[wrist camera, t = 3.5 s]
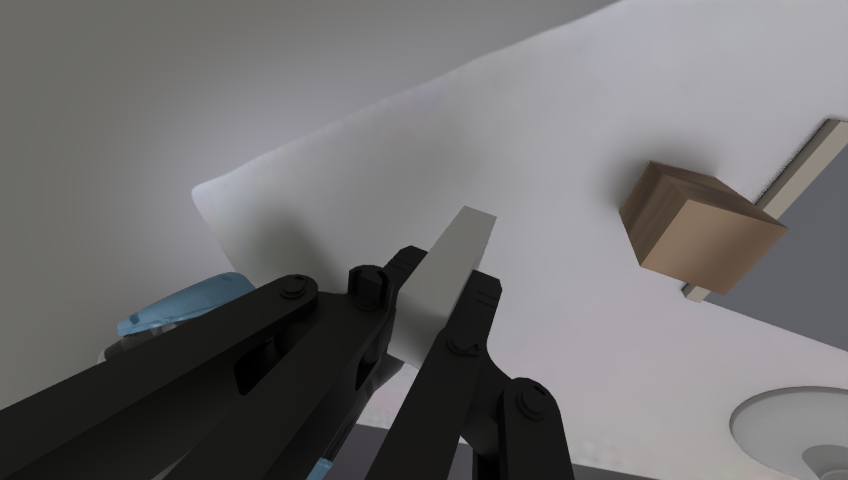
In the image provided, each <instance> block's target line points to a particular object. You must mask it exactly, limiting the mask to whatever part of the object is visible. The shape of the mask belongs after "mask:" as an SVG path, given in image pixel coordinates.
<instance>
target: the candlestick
mask: <svg viewBox="0 0 848 480" xmlns="http://www.w3.org/2000/svg"><path fill="white" fill-rule="evenodd" d="M730 429H731V432H732V435H733V437H734V439H735V441H736V443H737V444H738V445H739V447H740V448H741V449H742V450H743V451H744V452H745V453H746V454H747V455H749V456H750V457H751V458H753V459H754V460H756V461H758V462H759V463H761V464H763V465H765V466H767V467H769V468H771V469H774V470H776V471H779V472H781V473H784V474H787V475H789V476H793V477H796V478H800V479H804V480H848V390H844V389H837V388H828V387H793V388H784V389H778V390H773V391H769V392H766V393H763V394H760V395H757V396H755V397H753V398H751V399H749V400H747V401H745V402H744V403H742V404H741V405H740V406H739V407H738V408H737V409H736V410H735V411H734V413H733V414H732V417H731V420H730Z"/></svg>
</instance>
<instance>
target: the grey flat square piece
mask: <svg viewBox="0 0 848 480" xmlns="http://www.w3.org/2000/svg"><path fill="white" fill-rule="evenodd" d="M755 205H756V206H757V207H759V208H760V209H761V210H763V211H764V212H766V213H767V214H769V215H770V216H771V217H773V218H774V219H776V220H777V221H779V222H780V223H782V224H783V225H784V226H786V227H787V228H789V229H788V230H787V231H786V232H785V233H784V234H783V235H782V236H781V238H780V239H779V240H778V241H777V242H776V243H775V244H774V245H773V246H772V247H771V248H770V249H769V250H768V251H767V252H766V253H765V254H764V255H763V256H762V257H761V258H760V259H759V260H758V261H757V262H756V263H755V264H754V265H753V266H752V268H751V269H750V270H749V271H748V272H747V273H746V274H745V275H744V276H743V277H742V278H741V279H740V280H739V281H738V282H737V283H736V284H735V285H734V286H733V287H732V288H731V289H730V290H729V291H728V292H727V293H726V294H725V295H721V294H718V293H715V292H713V291H710V290H707V289H704V288H701V287H698V286H695V285H692V284H689V283H688V284H687V285H686V286H685V287H684V288H683V289H682V292H683V294H684V296H685V298H687V299H690V300H692V301H695V302H698V303H700V302H701V301H702V300H704V301H707V302H709V303H712V304H715V305H718V306H721V307H724V308H726V309H729V310H732V311H735V312H738V313H740V314H743V315H746V316H749V317H752V318H755V319H757V320H760V321H763V322H766V323H769V324H771V325H774V326H777V327H780V328H783V329H786V330H788V331H791V332H794V333H797V334H800V335H802V336H805V337H808V338H811V339H814V340H817V341H819V342H822V343H825V344H828V345H831V346H833V347H836V348H839V349H842V350H845V351H848V123H847V122H842V121H837V120H831V119H828V120H827V121H826V122H825V123H824V125H823V126H822V127H821V128H820V129H819V130H818V132H817V133H816V134H815V135H814V136H813V137H812V139H811V140H810V141H809V142H808V143H807V144H806V146H805V147H804V148H803V149H802V150H801V151H800V153H799V154H798V155H797V156H796V157H795V158H794V160H793V161H792V162H791V163H790V164H789V166H788V167H787V168H786V169H785V170H784V171H783V173H782V174H781V175H780V176H779V177H778V178H777V180H776V181H775V182H774V183H773V184H772V185H771V187H770V188H769V189H768V190H767V191H766V192H765V194H764V195H763V196H762V197H761V198H760V199H759V201H758V202H757V203H756V204H755Z"/></svg>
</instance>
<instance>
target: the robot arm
mask: <svg viewBox="0 0 848 480" xmlns="http://www.w3.org/2000/svg"><path fill="white" fill-rule="evenodd" d="M496 218H497V217H496V216H493V215H490V214H487V213H484V212H481V211H479V210H476V209H473V208H470V207H467V206H464V207H463V208H462V210H461V211H460V212H459V213H458V215H457V216H456V217H455V219H454V220H453V221H452V223H451V224H450V225H449V226H448V228H447V229H446V230H445V232H444V233H443V234H442V235H441V237H440V238H439V239H438V241H437V242H436V243H435V244H434V246H433V247H432V248H431V250H430V251H429V252H427V251H424V250H422V249H419V248H417V247H414V246H412V245H410V246H408V247H405V248H403V249H401V250H399V252H398V253H397V254H396V255H395V256H394V257H393V258H392V259H391V260H390V261H389V262H388V264H386V265H385V266H384V267H383V268H382V267H378V266H375V265H361V266H357V267H355V268H353V269H351V270H350V271H349V280H348V293H347V294H333V293H327V292H322V291H318V285H317V283H316V282H315V281H314V280H313V279H312V278H310V277H308V276H305V275H299V274H296V275H287V276H284V277H281V278H278V279H276V280H274V281H272V282H270V283H268V284H266V285H264V286H262V287H259V288H257V289H256V288H255V287H254V286H253V285H252V283H251V282H250V281H249V280H248V279H247V278H246V277H245V276H243V275H242V274H239V273H235V272H228V273H223V274H220V275H217V276H214V277H212V278H209V279H206V280H204V281H202V282H199V283H197V284H194V285H192V286H190V287H188V288H185V289H183V290H181V291H179V292H176V293H174V294H172V295H170V296H168V297H166V298H163V299H161V300H159V301H158V302H155V303H153V304H151V305H149V306H147V307H145V308H143V309H142V310H140V311H139V312H136V313H135V314H133V315H131V316H129V317H126V318H125V319H123V320H122V321H120V322H119V323H118V324H117V328H118V335H119V336H123V337H124V338H123V339H121V340H120V341H118V342H116V343H115V344H113V345H111V346H110V347H108V348H107V349H105V350H104V351H102V352H101V353H100V356H99V359H98V363H97V365H95V366H93V367H91V368H89V369H87V370H85V371H82V372H81V373H79V374H76V375H74V376H72V377H70V378H68V379H66V380H63V381H62V382H59V383H57V384H55V385H53V386H51V387H49V388H47V389H45V390H42V391H40V392H38V393H36V394H34V395H32V396H30V397H28V398H26V399H23V400H21V401H19V402H17V403H15V404H13V405H11V406H9V407H7V408H5V409H2V410H0V480H151V479H152V478H154V477H155V476H156V475H158V474H159V473H160V472H162V471H163V470H164V469H166V468H167V467H169V466H170V465H171V464H173V463H174V462H175V461H177V460H178V459H179V458H181V457H182V456H183V455H185V454H186V453H187V452H188V451H190V450H191V449H192V450H191V451H190V452H189V453H188V454H187V455H186V456H185V457H184V458H183V459H182V460H181V461H180V463H178V464H177V465H176V466H175V467H174V468H173V469H172V470H171V471H170V472H169V473H168V474H167V476H165V477H164V478H163V479H162V480H321V479H322V478H323V476H324V475H325V474H326V472H327V471H328V469H330V468H331V466H332V464H333V463H332V462H333V460H334V459H335V457H336V455H337V453H338V452H339V450H340V449H341V447H342V445H343V443H344V442H345V440H346V438H347V437H348V435H349V433H350V432H351V430H352V428H353V427H354V425H355V423H356V421H357V420H358V418H359V416H360V415H361V413H362V411H363V410H364V408H365V406H366V404H367V403H368V401H369V399H370V398H371V396H372V395H373V393H374V392H375V391H376V390H377V389H378V388H380V387H381V386H382V385H383V384H384V383H386V382H387V381H388V380H389V379H390V378H391V377H393V376H394V375H395V374H396V373H397V372H398V371H399V370H400V369H401V368H402V366H403V365H404V363H405V362H406V363H408V364H410V365H412V366H414V367H416V368H418V369H420V370H419V372H418V374H417V376H416V378H415V380H414V382H413V384H412V386H411V388H410V390H409V392H408V394H407V396H406V398H405V400H404V402H403V404H402V406H401V408H400V410H399V412H398V414H397V416H396V418H395V420H394V422H393V424H392V426H391V428H390V430H389V432H388V434H387V436H386V438H385V440H384V442H383V444H382V446H381V448H380V450H379V452H378V454H377V456H376V458H375V460H374V462H373V464H372V466H371V468H370V470H369V472H368V474H367V476H366V477H365V480H447V478H448V474H449V471H450V468H451V465H452V461H453V458H454V455H455V451H456V448H457V444H458V441H459V438H460V435H461V437H462V438H463V439H464V440H465V441H466V442H467V443H468V444H469V445H470V446H471V447H472V448H473V466H472V468H473V469H472V480H575V479H574V474H573V469H572V465H571V460H570V455H569V451H568V446H567V442H566V437H565V432H564V428H563V423H562V418H561V414H560V410H559V408H558V405H557V402H556V400H555V399H554V397H553V396H552V395H551V393H550V392H549V391H548V390H547V389H546V388H545V387H543V386H542V385H541V384H540V383H538V382H536V381H534V380H531V379H529V378H521V377H518V378H515V379H511V378H510V377H508V376H507V375H506V374H505V373H504V372H502V371H501V370H500V369H499V368H498V367H497V366H496V365H495V364H494V362H493V361H492V360H491V358H490V356H489V354H488V351H487V339H488V335H489V332H490V329H491V326H492V322H493V319H494V316H495V312H496V309H497V306H498V303H499V299H500V296H501V293H502V287H501V284H500V280H499V279H497V278H494V277H492V276H489V275H487V274H484V273H482V272H479V271H477V270H478V267H479V265H480V262H481V260H482V257H483V254H484V251H485V248H486V246H487V243H488V240H489V237H490V235H491V232H492V229H493V226H494V223H495V221H496Z"/></svg>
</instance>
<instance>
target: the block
mask: <svg viewBox="0 0 848 480" xmlns="http://www.w3.org/2000/svg"><path fill="white" fill-rule="evenodd" d="M619 214H620V216H621V219H622V222H623V224H624V227H625V229H626V232H627V234H628V237H629V240H630V242H631V245H632V247H633V250H634V252H635V255H636V258H637V260H638V263H639V265H640V267H643V268H646V269H649V270H652V271H655V272H658V273H661V274H664V275H666V276H669V277H672V278H675V279H678V280H681V281H684V282H687V283H689V284H692V285H695V286H698V287H701V288H704V289H707V290H710V291H713V292H715V293H718V294H721V295H725V294H726V293H727V292H728V291H729V290H730V289H731V288H732V287H733V286H734V285H735V284H736V283H737V282H738V281H739V280H740V279H741V278H742V277H743V276H744V275H745V274H746V273H747V272H748V271H749V270H750V269H751V268H752V266H753V265H754V264H755V263H756V262H757V261H758V260H759V259H760V258H761V257H762V256H763V255H764V254H765V253H766V252H767V251H768V250H769V249H770V248H771V247H772V246H773V245H774V244H775V243H776V242H777V241H778V240H779V239H780V238H781V236H782V235H783V234H784V233H785V232H786V231H787V230H788V229H789V228H787V227H786V226H784V225H783V224H782V223H780V222H779V221H777V220H776V219H774V218H773V217H771V216H770V215H769V214H767V213H766V212H764V211H763V210H761V209H760V208H759V207H757V206H756V205H754V204H753V203H751V202H750V201H748V200H747V199H746V198H744V197H743V196H741V195H740V194H738V193H737V192H735V191H734V190H733V189H731V188H730V187H728V186H727V185H725V184H724V183H722V182H721V181H720V180H718V179H717V178H714V177H711V176H707V175H703V174H700V173H696V172H692V171H689V170H685V169H681V168H678V167H674V166H670V165H667V164H663V163H659V162H656V161H652V160H649V161H648V163H647V165H646V166H645V168H644V170H643V171H642V173H641V175H640V176H639V178H638V180H637V182H636V183H635V185H634V187H633V188H632V190H631V192H630V193H629V195H628V197H627V198H626V200H625V202H624V203H623V205H622V207H621V208H620V210H619Z"/></svg>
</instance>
